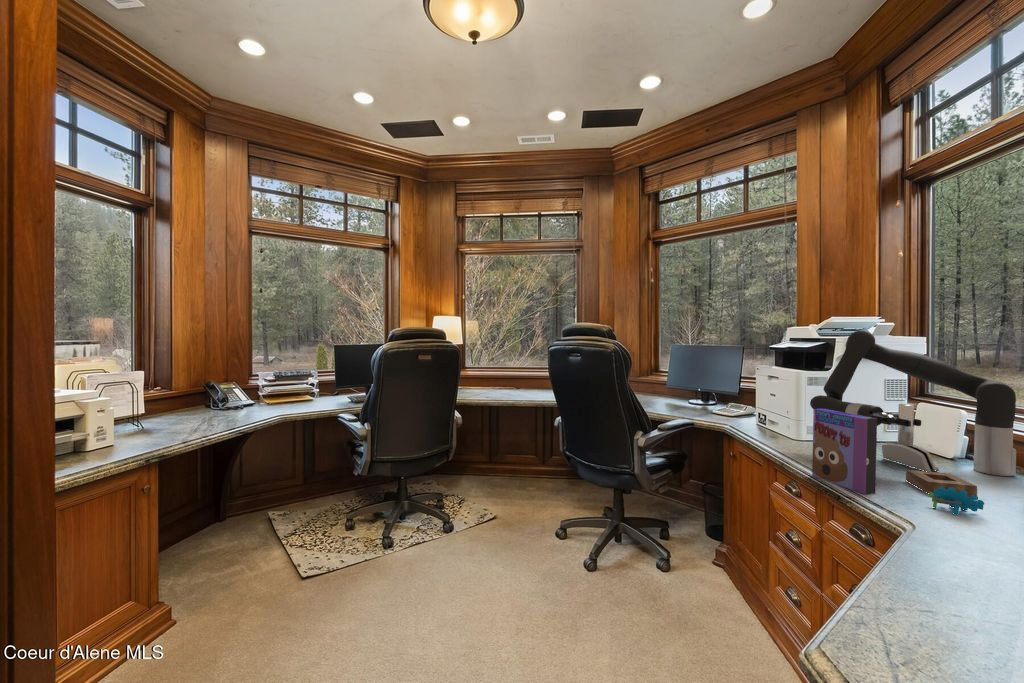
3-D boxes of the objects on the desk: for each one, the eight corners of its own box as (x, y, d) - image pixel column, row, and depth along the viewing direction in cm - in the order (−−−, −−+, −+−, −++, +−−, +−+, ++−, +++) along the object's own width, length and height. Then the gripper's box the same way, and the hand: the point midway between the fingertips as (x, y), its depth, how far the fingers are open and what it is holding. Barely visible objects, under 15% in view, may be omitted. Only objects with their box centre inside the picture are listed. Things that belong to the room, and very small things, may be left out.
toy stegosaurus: (990, 510, 117) (977, 488, 114) (988, 529, 114) (973, 507, 112) (937, 501, 126) (923, 481, 124) (933, 519, 124) (919, 498, 121)
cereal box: (812, 476, 149) (813, 408, 149) (822, 475, 150) (824, 408, 150) (863, 494, 132) (865, 418, 132) (875, 493, 133) (877, 417, 133)
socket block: (950, 485, 140) (950, 473, 140) (977, 498, 129) (977, 486, 129) (905, 481, 144) (905, 469, 144) (927, 494, 133) (928, 481, 133)
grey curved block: (940, 472, 154) (933, 447, 153) (930, 477, 153) (922, 451, 152) (894, 458, 170) (887, 435, 170) (884, 463, 170) (877, 440, 169)
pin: (909, 443, 149) (910, 404, 148) (915, 446, 145) (917, 405, 144) (895, 442, 150) (896, 403, 150) (901, 445, 146) (902, 405, 146)
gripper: (849, 404, 160) (899, 413, 143) (879, 403, 163) (931, 411, 146) (848, 424, 160) (898, 435, 143) (878, 422, 163) (931, 433, 146)
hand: (915, 423), depth 144 cm, fingers closed on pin, 4 cm apart
